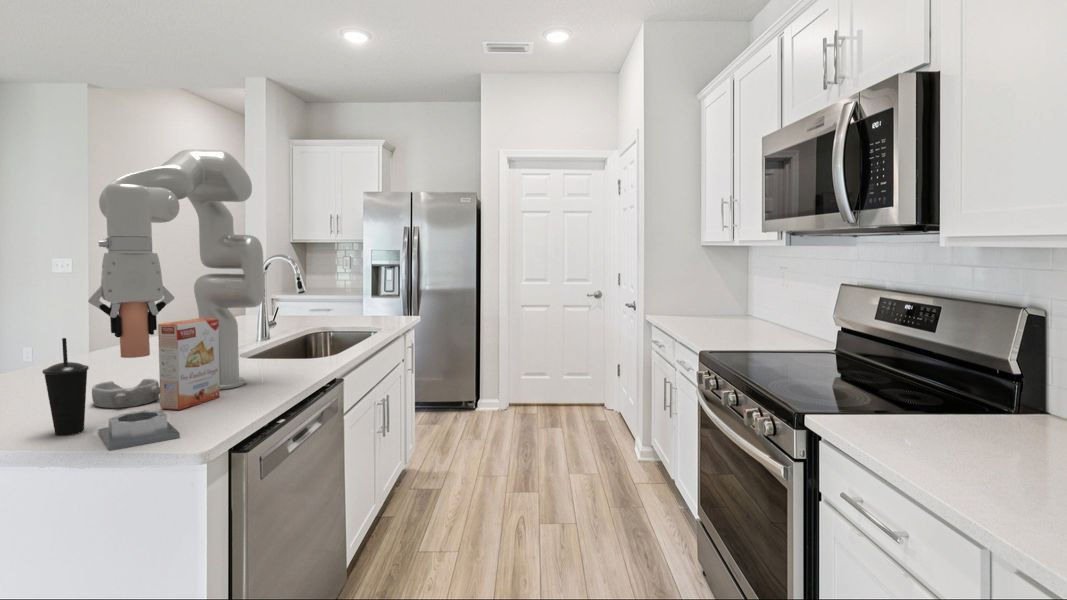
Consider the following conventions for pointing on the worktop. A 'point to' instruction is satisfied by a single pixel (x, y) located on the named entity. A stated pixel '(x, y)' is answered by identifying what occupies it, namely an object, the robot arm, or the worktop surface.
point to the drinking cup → (67, 394)
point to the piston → (134, 330)
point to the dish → (125, 394)
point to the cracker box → (188, 362)
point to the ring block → (137, 429)
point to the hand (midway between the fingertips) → (134, 334)
